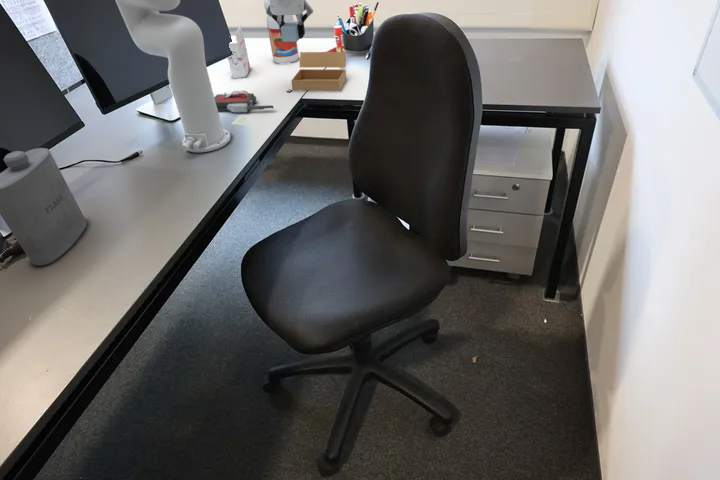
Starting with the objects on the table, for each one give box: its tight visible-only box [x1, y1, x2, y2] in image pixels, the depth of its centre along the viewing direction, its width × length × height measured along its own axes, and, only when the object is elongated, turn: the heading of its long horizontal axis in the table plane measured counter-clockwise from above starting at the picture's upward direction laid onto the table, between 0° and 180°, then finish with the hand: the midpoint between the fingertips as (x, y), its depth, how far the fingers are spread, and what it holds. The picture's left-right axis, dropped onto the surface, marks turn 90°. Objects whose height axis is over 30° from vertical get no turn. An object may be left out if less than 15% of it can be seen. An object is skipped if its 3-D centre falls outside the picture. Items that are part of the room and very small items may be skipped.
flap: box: [299, 51, 347, 68], centre depth 157 cm, size 5×15×1 cm
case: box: [281, 20, 300, 43], centre depth 147 cm, size 7×5×4 cm, turn 168°
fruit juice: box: [263, 0, 300, 64], centre depth 169 cm, size 9×9×28 cm
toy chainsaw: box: [214, 90, 274, 113], centre depth 145 cm, size 9×4×20 cm
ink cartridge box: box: [227, 25, 251, 79], centre depth 165 cm, size 9×5×15 cm, turn 179°
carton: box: [290, 68, 347, 91], centre depth 155 cm, size 10×15×3 cm, turn 79°
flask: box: [0, 147, 88, 267], centre depth 92 cm, size 15×6×20 cm, turn 175°
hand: (293, 36), depth 148 cm, fingers closed on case, 4 cm apart
